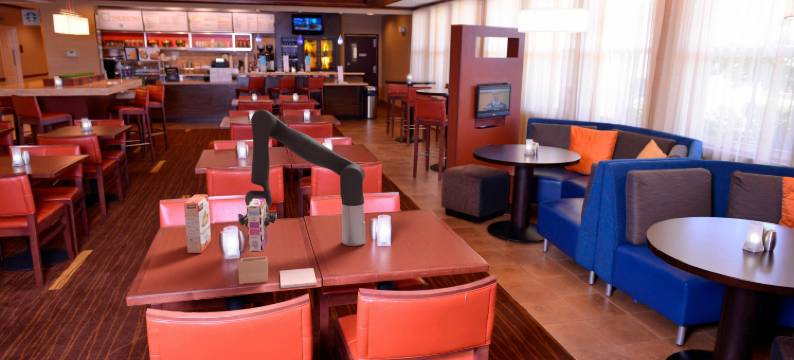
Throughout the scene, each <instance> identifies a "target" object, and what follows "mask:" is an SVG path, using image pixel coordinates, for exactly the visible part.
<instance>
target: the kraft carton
mask: <svg viewBox="0 0 794 360" xmlns="http://www.w3.org/2000/svg"><path fill="white" fill-rule="evenodd" d="M237 269H238V283H239V284H238V285H242V284H243V285H244V284H245V283H246V284H257V283H265V282H266V283H268V282H269V260H268V256H266V255H265V256H254V257H253V256H252V257H250V256H249V257H241V258H240V261H237Z"/></svg>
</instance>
